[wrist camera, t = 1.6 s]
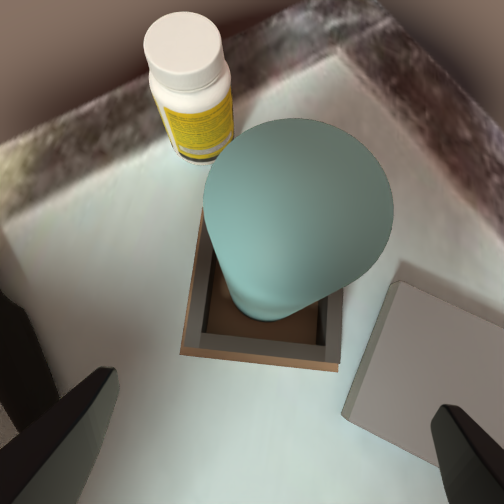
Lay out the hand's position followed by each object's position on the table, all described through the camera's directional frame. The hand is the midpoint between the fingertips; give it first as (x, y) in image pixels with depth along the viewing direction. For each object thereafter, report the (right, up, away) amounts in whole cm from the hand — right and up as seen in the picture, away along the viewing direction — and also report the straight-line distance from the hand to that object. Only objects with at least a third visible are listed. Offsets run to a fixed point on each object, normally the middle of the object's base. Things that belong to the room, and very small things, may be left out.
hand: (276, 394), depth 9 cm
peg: (0, +2, +11) cm, 12 cm away
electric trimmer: (-17, 0, +13) cm, 21 cm away
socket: (0, +1, +13) cm, 13 cm away
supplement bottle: (-4, +12, +16) cm, 21 cm away
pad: (+11, -4, +12) cm, 16 cm away
